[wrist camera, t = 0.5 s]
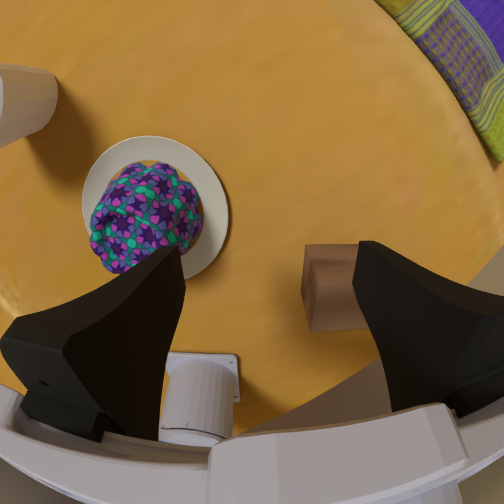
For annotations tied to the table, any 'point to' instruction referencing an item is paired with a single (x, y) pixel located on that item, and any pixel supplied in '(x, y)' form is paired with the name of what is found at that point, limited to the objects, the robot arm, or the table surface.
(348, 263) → the walnut block
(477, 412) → the robot arm
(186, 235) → the pudding
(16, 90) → the white tapered cup
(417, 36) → the dish towel
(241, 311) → the table surface
